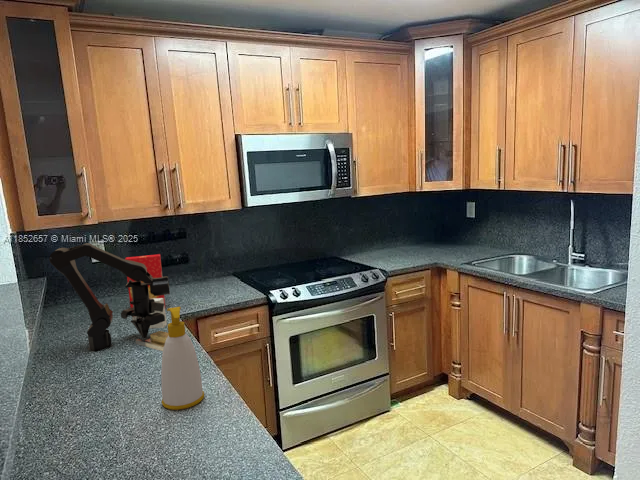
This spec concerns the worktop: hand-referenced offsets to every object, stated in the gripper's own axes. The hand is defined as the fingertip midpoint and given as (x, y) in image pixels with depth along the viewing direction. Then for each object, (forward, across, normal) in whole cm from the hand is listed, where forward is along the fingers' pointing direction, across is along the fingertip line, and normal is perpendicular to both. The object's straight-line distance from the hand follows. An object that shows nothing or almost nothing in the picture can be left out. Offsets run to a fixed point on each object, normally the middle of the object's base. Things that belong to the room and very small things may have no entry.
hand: (144, 338), depth 164 cm
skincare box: (+2, +9, -12) cm, 15 cm away
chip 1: (+1, -8, 0) cm, 8 cm away
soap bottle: (+2, -48, +22) cm, 53 cm away
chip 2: (+1, -12, 0) cm, 12 cm away
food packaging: (+2, +35, -27) cm, 44 cm away
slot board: (+1, -8, 0) cm, 8 cm away
